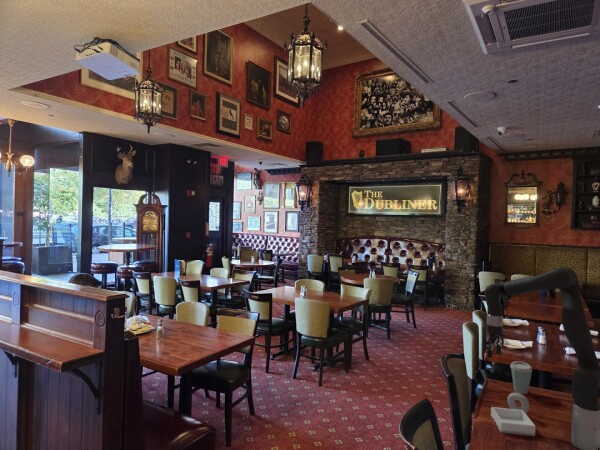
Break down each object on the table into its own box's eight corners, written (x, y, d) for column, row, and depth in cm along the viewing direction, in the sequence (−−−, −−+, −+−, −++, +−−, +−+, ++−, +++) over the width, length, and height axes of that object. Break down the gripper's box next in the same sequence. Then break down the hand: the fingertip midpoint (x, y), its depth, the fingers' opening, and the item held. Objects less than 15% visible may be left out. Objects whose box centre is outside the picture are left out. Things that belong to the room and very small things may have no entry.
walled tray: (522, 419, 185) (522, 410, 184) (535, 436, 171) (535, 426, 171) (490, 416, 187) (491, 406, 187) (500, 432, 173) (501, 422, 173)
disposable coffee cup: (534, 397, 208) (535, 369, 208) (512, 394, 210) (513, 367, 210) (527, 388, 218) (528, 361, 218) (506, 386, 221) (507, 359, 220)
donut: (505, 410, 193) (506, 390, 193) (508, 408, 195) (509, 388, 195) (527, 419, 185) (528, 398, 185) (530, 416, 187) (531, 396, 187)
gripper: (494, 327, 189) (494, 360, 189) (509, 323, 197) (508, 355, 198) (480, 324, 195) (479, 356, 195) (494, 320, 203) (494, 351, 204)
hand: (494, 355), depth 196 cm, fingers open, 8 cm apart
